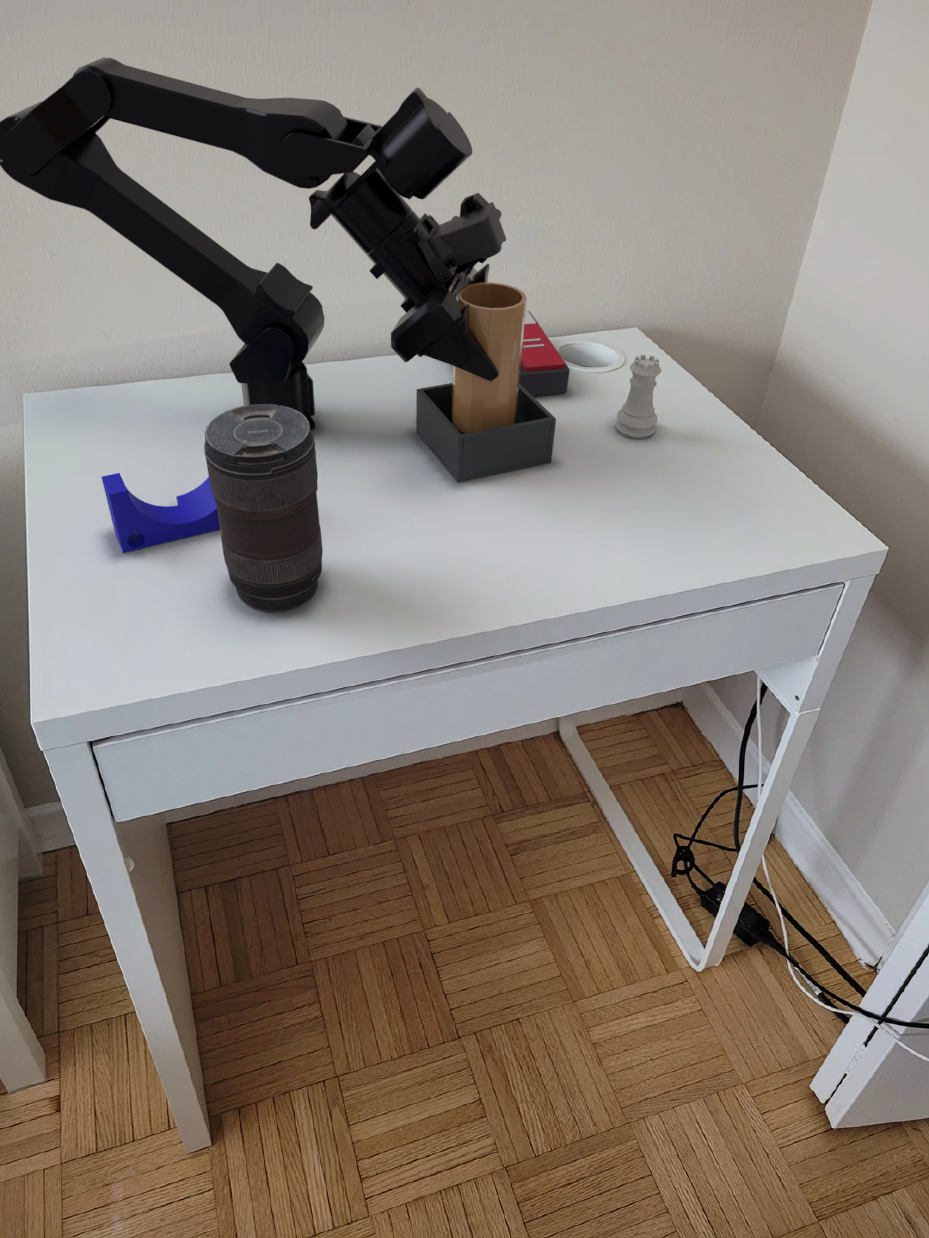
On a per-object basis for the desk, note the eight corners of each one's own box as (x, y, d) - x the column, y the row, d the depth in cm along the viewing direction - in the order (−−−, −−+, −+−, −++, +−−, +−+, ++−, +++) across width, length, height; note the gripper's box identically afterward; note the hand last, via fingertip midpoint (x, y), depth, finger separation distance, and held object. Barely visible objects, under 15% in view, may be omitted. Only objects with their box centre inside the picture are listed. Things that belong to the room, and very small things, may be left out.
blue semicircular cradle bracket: (242, 495, 89) (234, 439, 86) (257, 520, 86) (250, 463, 83) (111, 525, 85) (97, 468, 81) (123, 553, 82) (108, 494, 78)
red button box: (476, 372, 103) (442, 310, 113) (474, 407, 106) (441, 343, 116) (572, 364, 105) (530, 304, 116) (567, 398, 108) (526, 336, 119)
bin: (457, 483, 93) (458, 437, 89) (416, 432, 100) (416, 389, 97) (551, 462, 96) (556, 418, 93) (505, 415, 103) (508, 372, 100)
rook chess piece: (631, 415, 104) (643, 346, 99) (664, 430, 102) (677, 361, 97) (605, 428, 102) (616, 358, 97) (638, 444, 100) (651, 374, 94)
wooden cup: (472, 443, 93) (480, 314, 84) (440, 414, 97) (444, 289, 88) (527, 428, 95) (539, 302, 87) (493, 401, 99) (502, 278, 91)
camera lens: (221, 566, 81) (196, 408, 71) (315, 552, 83) (303, 396, 73) (233, 626, 75) (207, 462, 66) (334, 609, 77) (323, 448, 68)
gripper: (429, 205, 74) (554, 355, 80) (474, 144, 88) (577, 276, 94) (336, 292, 80) (459, 426, 86) (392, 222, 94) (494, 341, 100)
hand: (501, 362), depth 92 cm, fingers closed on wooden cup, 6 cm apart
